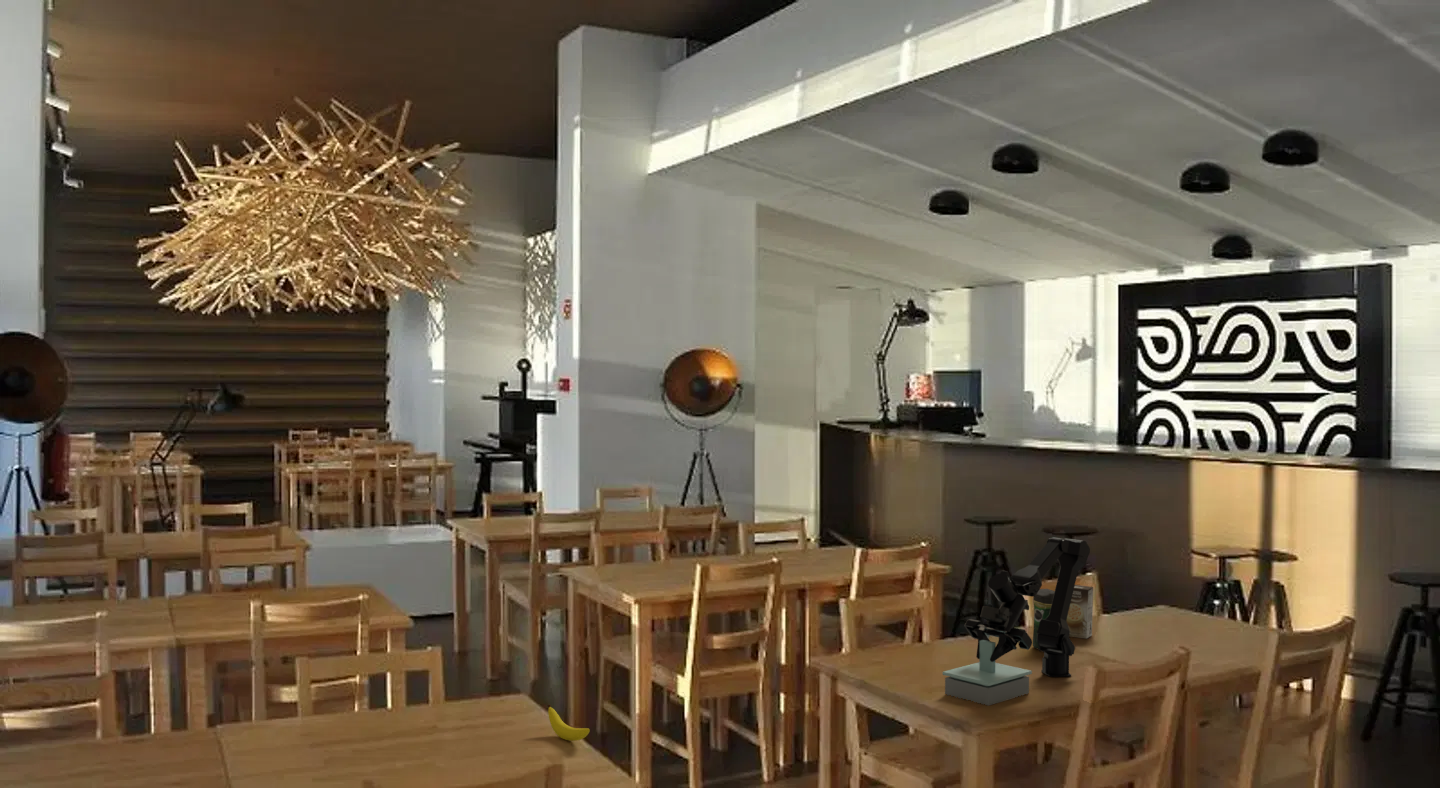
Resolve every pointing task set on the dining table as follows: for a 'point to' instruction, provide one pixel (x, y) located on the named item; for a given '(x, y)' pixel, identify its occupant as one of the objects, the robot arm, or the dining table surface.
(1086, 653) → the dining table surface
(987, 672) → the lid
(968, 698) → the tub
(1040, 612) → the coffee jar
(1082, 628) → the coffee box
